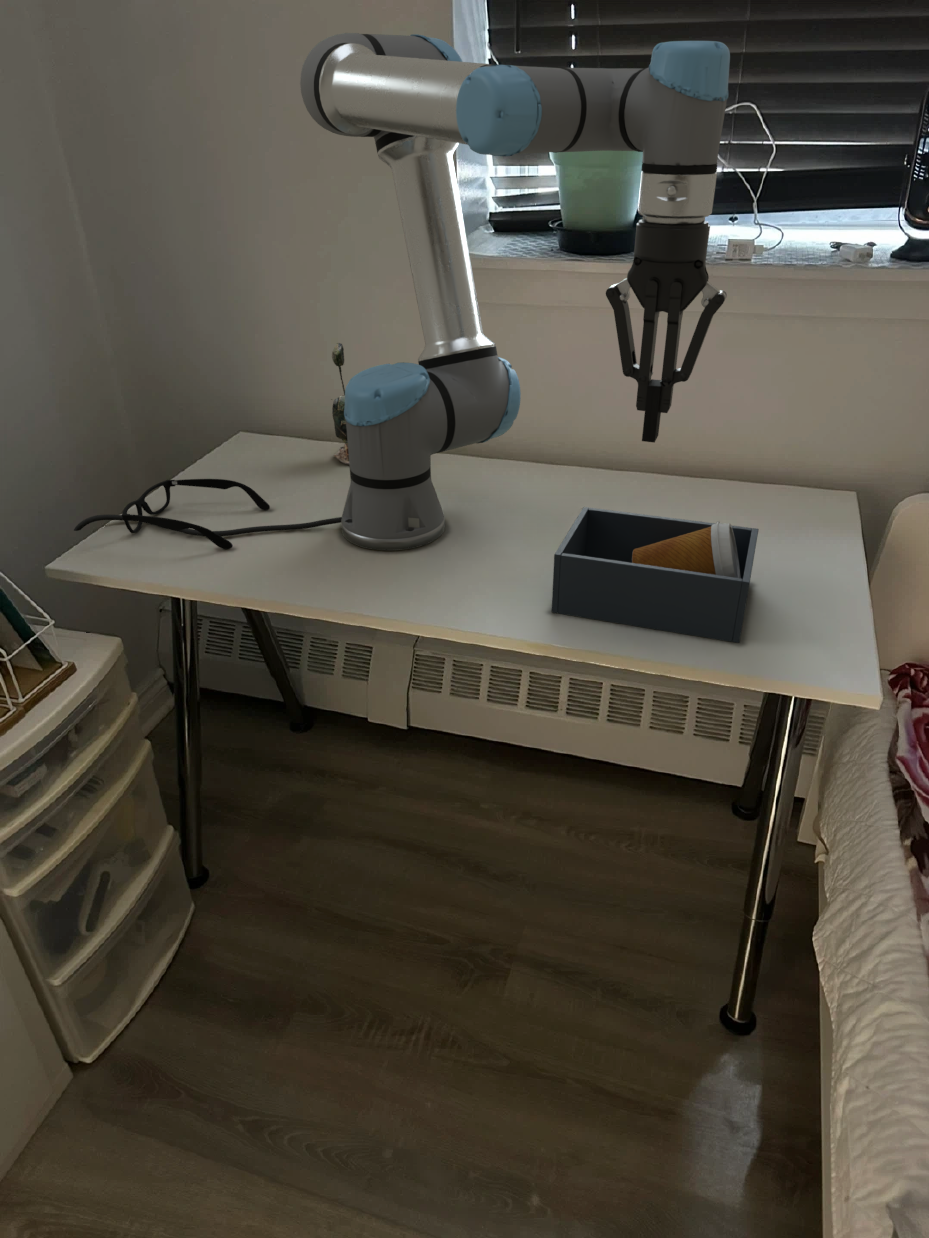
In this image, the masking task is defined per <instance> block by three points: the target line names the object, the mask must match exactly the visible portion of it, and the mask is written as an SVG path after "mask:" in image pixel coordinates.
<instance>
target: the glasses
mask: <svg viewBox="0 0 929 1238" xmlns="http://www.w3.org/2000/svg"><path fill="white" fill-rule="evenodd" d="M176 486H183V487H184V486H185V487H198V488H210V489H219V490H228V489H230V488H236V487H237V488H239V489H242V490H243V491H244V492H245V493H246V494H247V495H248V496H249V497H250V498H251V500H252V501H253V502H254V503H255V505H256V506H257V507H258V508H259V509H260V510H261V511H268V510H270V508H271V505H270V504H269V503H268V502H267V501H266V500H265V499H264V498H263V497H262V496H261V495H259V494H258V493H257V491H255V490H254V489H253V488H251V487H250V486H248V485H246V484H244V483H242V482H239V481H236V480H231V479H222V478H190V479H189V478H187V479H166V480H163V481H159V482H158V483H156V484H153V485H152V486H151V487H148V489H146V490H145V491H143V493H142V494H141V495H140V496H139V498H137V499H136V500H133V501H131V502H129V503H127V504H126V506H125V507H124V509H123V510H122V513H121V515H122V518H123V520H124V521H123V522H124V525H125V527H126V529H127V531H128V532H129V533H131V534H136V533H138V532H139V531H140V530H141V528H142V526H143V523H144V524H147V525H150V526H155V525H156V527H158V526H160V527H159V528H161V527H164V528H168V529H172V530H171V531H173V530H176V531H175V532H177V531H180V530H183V529H187V528H189V529H194V530H197V531H198V532H200V533H201V534H203V535H204V536H203V537H205V538H207V539H208V540H209V541H210V542H211V543H212V544H213V545H215V546H217V547H218V548H220V549H222V550H231V549H232V548H233V543H232V542H231V541H229V540H228V539H227V538H225V537H224V536H220V535H218V534H216V533H215V532H213V531H214V530H211V529H209V528H206V527H205V526H201V525H198V524H196V523H191V522H188V521H183V520H178V519H174V518H168V517H162V516H160V517H159V516H155V515H159V514H161V513H163V512H164V511H165V510H166V509H167V508H168V506H170V503H171V487H173V488H174V487H176ZM159 487H163V488H164V491H165V497H166V501H165V503H164V505H163V506H162V507H161V508H159V509H158V510H155V511H153V510H152V509H151V507H150V506H149V504H148V502H146V498H147V495H149V493H151V492H152V491H153V490H155V489H158V488H159ZM134 505H135V507H136V513H137V514H132V513H128V512H129V509H130V508H131V507H132V506H134ZM143 511H144V512H145V513H146V514H148V515H144V514H143ZM128 520H135V521H134V522H137V525H136V527H135V528H134V529H133V528H132V526H131V524H130V521H128ZM164 528H163V529H164ZM168 529H167V530H168Z"/></svg>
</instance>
